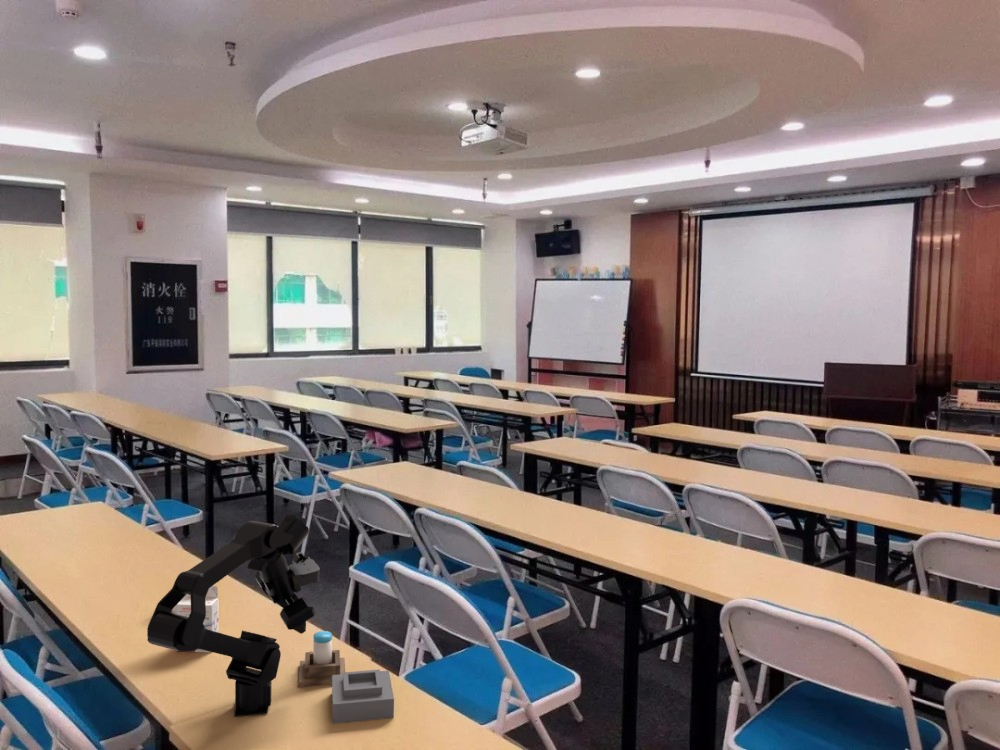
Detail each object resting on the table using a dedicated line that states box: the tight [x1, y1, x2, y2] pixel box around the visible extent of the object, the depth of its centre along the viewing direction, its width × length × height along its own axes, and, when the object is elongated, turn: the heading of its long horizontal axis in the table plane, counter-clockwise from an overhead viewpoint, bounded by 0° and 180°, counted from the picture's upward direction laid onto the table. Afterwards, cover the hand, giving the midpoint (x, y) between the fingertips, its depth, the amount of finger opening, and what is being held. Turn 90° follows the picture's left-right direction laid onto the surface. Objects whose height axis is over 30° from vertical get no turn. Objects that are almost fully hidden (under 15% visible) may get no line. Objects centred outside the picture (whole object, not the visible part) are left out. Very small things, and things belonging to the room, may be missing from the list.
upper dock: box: [331, 669, 395, 725], centre depth 154 cm, size 12×12×6 cm
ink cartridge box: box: [176, 585, 220, 653], centre depth 177 cm, size 9×5×15 cm, turn 92°
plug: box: [312, 630, 333, 665], centre depth 167 cm, size 4×4×8 cm
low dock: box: [298, 649, 346, 687], centre depth 167 cm, size 10×10×4 cm
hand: (294, 619), depth 165 cm, fingers open, 9 cm apart
